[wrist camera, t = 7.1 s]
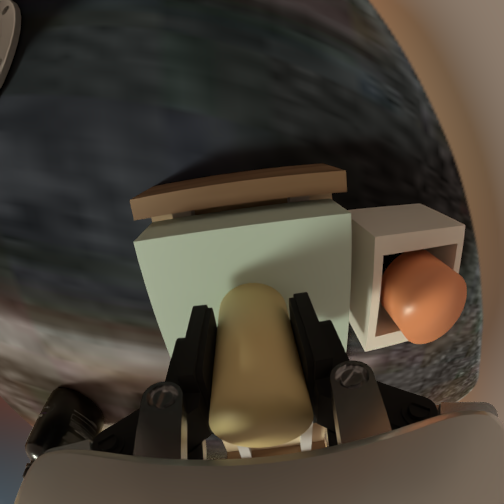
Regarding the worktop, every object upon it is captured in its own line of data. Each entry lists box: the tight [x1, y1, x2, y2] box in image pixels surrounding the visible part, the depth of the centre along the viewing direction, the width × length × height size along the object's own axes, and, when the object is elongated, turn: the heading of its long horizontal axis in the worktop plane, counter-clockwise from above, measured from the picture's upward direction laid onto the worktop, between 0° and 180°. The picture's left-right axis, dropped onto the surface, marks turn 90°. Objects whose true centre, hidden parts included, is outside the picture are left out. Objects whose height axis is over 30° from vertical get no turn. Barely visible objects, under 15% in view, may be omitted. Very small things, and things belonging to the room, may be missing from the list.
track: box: [130, 163, 347, 459], centre depth 19 cm, size 27×10×4 cm, turn 7°
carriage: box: [134, 198, 352, 448], centre depth 11 cm, size 8×9×9 cm
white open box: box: [348, 203, 465, 352], centre depth 16 cm, size 7×6×5 cm
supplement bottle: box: [23, 388, 104, 478], centre depth 18 cm, size 7×7×12 cm
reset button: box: [380, 249, 467, 344], centre depth 13 cm, size 4×4×3 cm
